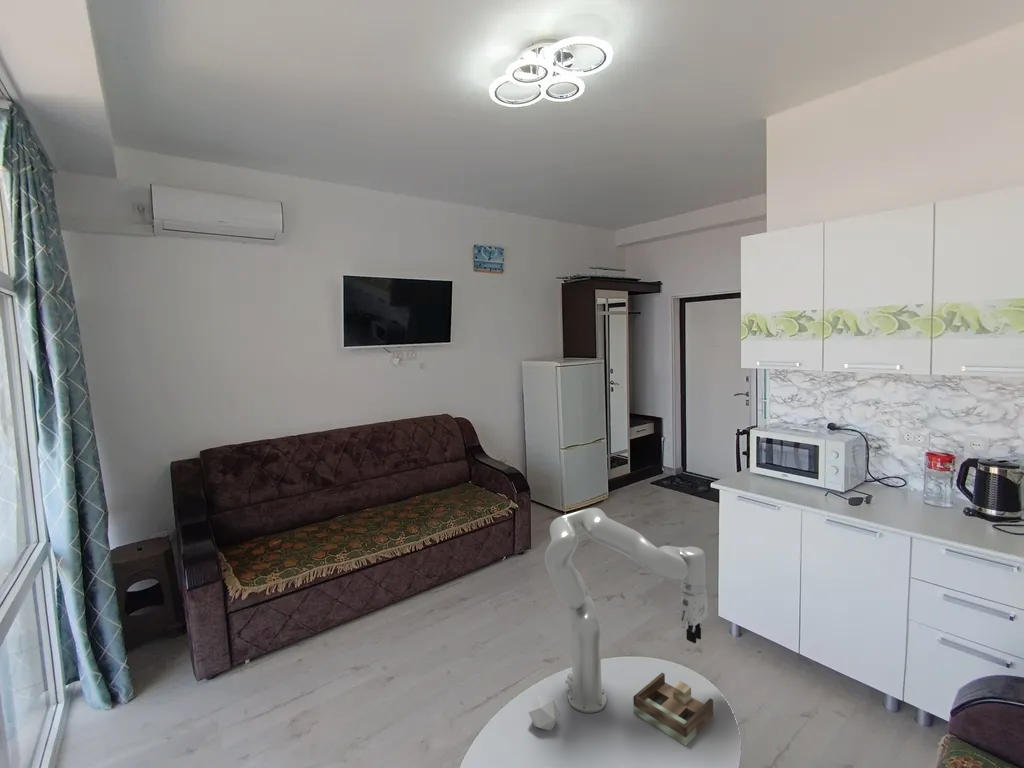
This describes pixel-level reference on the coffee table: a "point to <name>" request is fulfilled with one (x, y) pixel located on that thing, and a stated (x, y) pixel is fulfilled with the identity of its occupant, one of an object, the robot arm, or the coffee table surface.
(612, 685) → the coffee table surface
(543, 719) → the die
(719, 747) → the coffee table surface
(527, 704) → the coffee table surface
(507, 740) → the coffee table surface
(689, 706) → the box
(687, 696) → the maple block
